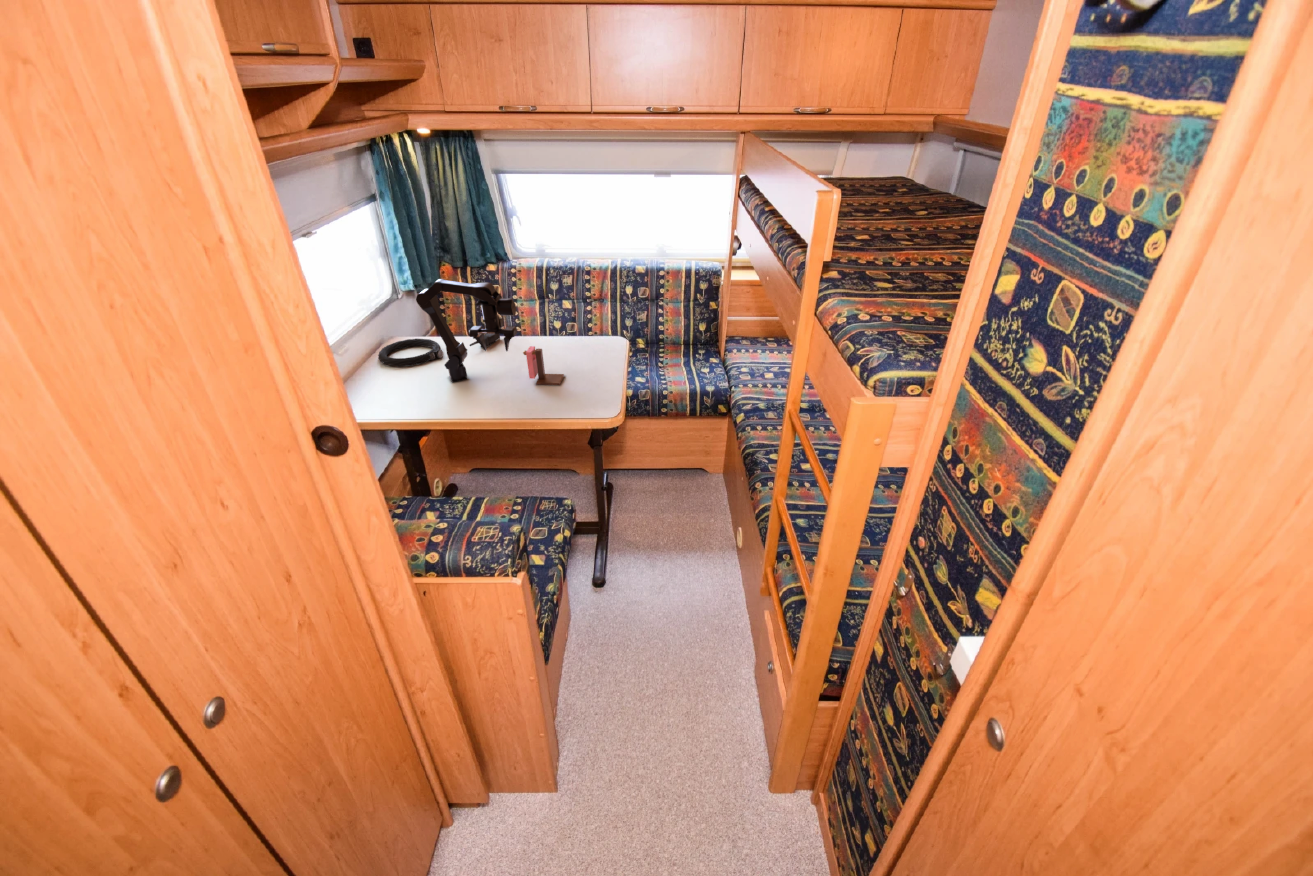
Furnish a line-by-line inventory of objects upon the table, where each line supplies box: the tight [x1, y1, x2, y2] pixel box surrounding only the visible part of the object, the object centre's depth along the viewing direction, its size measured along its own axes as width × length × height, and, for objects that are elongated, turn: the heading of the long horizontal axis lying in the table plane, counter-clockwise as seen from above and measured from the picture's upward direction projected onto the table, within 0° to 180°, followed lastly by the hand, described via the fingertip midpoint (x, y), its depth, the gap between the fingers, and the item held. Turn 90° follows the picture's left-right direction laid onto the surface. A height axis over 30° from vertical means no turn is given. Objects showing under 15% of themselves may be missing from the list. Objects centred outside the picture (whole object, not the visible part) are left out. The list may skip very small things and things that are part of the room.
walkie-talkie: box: [469, 334, 501, 348], centre depth 281 cm, size 6×6×20 cm
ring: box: [377, 338, 444, 367], centre depth 273 cm, size 28×4×30 cm
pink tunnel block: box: [525, 345, 538, 380], centre depth 246 cm, size 2×6×12 cm, turn 175°
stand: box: [522, 348, 565, 386], centre depth 246 cm, size 15×9×14 cm, turn 86°
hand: (496, 350), depth 244 cm, fingers open, 9 cm apart
